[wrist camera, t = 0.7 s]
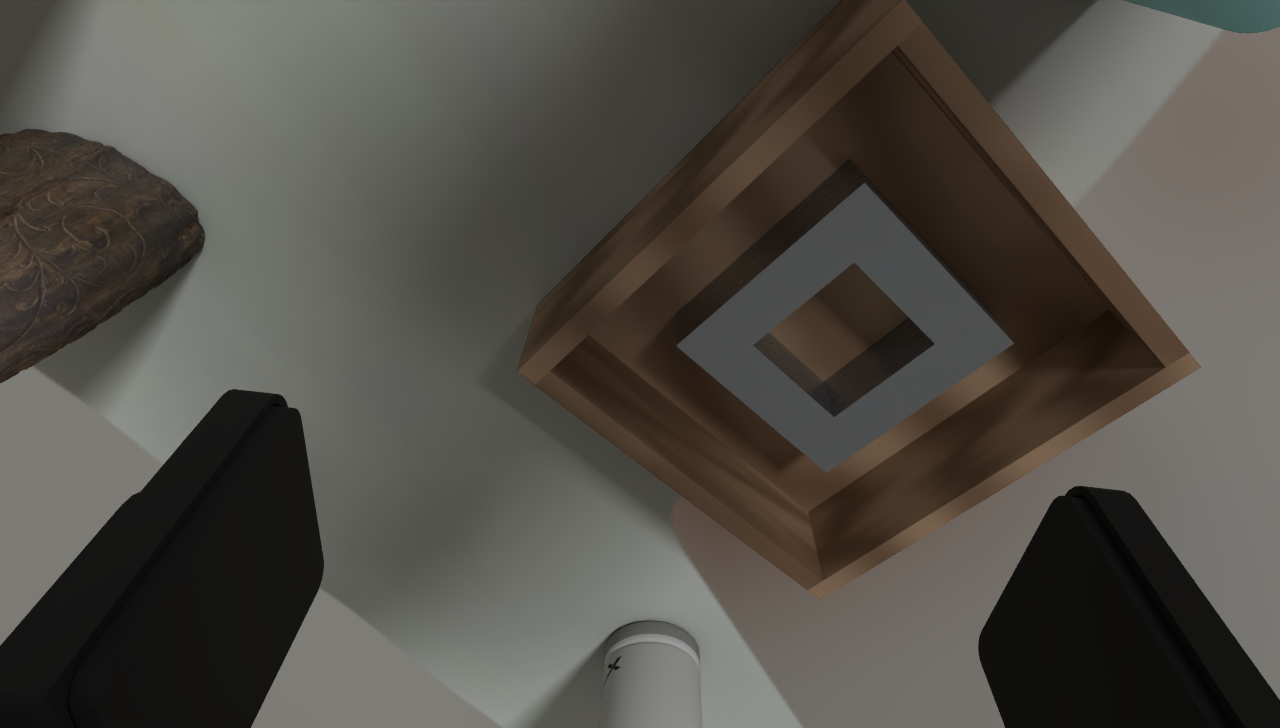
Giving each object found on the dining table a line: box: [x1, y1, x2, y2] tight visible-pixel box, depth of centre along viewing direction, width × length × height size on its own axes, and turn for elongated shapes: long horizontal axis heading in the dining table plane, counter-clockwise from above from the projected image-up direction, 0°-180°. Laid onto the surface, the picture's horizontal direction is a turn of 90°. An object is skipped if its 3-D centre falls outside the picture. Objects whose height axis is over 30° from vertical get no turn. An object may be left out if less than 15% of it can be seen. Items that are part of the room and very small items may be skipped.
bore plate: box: [676, 159, 1014, 473], centre depth 35 cm, size 10×10×3 cm
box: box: [517, 0, 1201, 600], centre depth 35 cm, size 20×20×6 cm
